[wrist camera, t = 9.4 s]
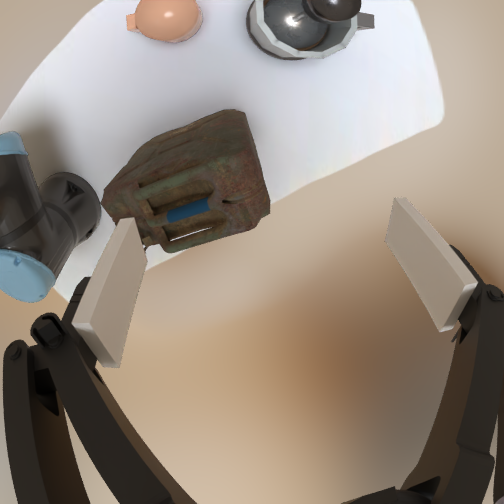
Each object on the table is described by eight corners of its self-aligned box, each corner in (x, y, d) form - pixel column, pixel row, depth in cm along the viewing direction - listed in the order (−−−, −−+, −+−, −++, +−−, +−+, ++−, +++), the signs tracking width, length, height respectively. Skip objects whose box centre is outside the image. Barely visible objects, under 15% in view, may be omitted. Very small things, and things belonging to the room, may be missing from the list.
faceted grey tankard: (248, 61, 39) (255, 61, 29) (243, -12, 31) (248, -35, 21) (342, 62, 40) (377, 67, 29) (340, -7, 32) (374, -22, 21)
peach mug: (143, 49, 36) (125, 48, 29) (140, 5, 31) (121, -3, 24) (204, 38, 36) (198, 34, 29) (201, -6, 31) (194, -19, 24)
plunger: (263, 48, 34) (286, 41, 20) (260, -9, 29) (280, -49, 14) (327, 49, 34) (386, 51, 20) (324, -6, 29) (382, -34, 14)
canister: (241, 102, 43) (252, 147, 24) (257, 148, 48) (279, 227, 29) (137, 143, 46) (74, 219, 26) (157, 184, 51) (115, 278, 31)
